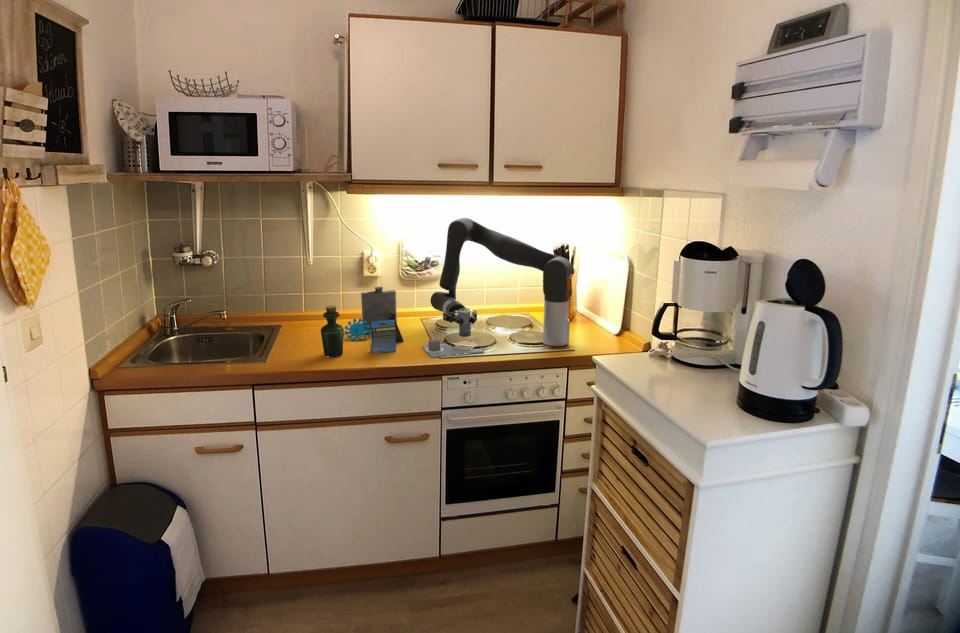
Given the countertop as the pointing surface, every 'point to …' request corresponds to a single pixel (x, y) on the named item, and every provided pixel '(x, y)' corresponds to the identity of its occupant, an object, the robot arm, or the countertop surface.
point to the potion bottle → (332, 333)
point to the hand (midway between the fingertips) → (467, 321)
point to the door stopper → (397, 331)
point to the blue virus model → (357, 329)
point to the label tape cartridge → (382, 336)
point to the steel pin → (465, 322)
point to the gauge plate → (447, 349)
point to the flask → (377, 305)
